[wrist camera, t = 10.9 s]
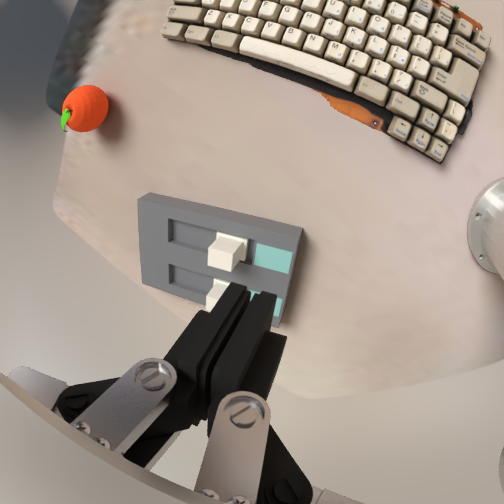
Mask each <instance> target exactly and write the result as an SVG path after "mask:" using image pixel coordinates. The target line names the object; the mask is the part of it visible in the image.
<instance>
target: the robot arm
mask: <svg viewBox="0 0 504 504" xmlns="http://www.w3.org/2000/svg"><path fill="white" fill-rule="evenodd" d="M477 213H478V214H477ZM476 214H477V215H476ZM467 234H468V242H469V246H470V249H471V251H472V253H473V256H474V257H475V259H476V260H477V262H478V263H479V264H480V265H481V266H482V267H483V268H484V269H486V270H488V271H490V272H493V273H496V274H500V276H501V277H502V279H503V281H504V178H502V179H499V180H497V181H495V182H493V183H492V184H490V185H489V186H488V187H487V188H486V189H484V191H483V192H482V193H481V194H480V195H479V197H478V198H477V200H476V202H475V203H474V205H473V208H472V210H471V213H470V217H469V221H468V231H467ZM250 299H251V291H248V290H247V286H245V285H242V284H238V283H235V282H231V283H230V284H229V285H228V287H227V288H226V290H225V291H224V293H223V294H222V296H221V297H220V298H219V300H218V301H217V303H216V304H215V306H214V307H213V309H212V310H211V312H210V313H209V312H206V311H203V310H200V311H198V313H197V314H196V315H195V316H194V318H193V319H192V320H191V322H190V323H189V325H188V326H187V327H186V329H185V330H184V331H183V333H182V334H181V336H180V337H179V338H178V340H177V341H176V342H175V344H174V345H173V346H172V348H171V349H170V351H169V352H168V353H167V355H166V356H165V357H164V359H163V360H162V359H158V358H148V359H144V360H141V361H139V362H137V363H136V364H135V365H134V366H132V367H131V368H130V369H129V370H128V371H127V372H126V373H125V374H124V375H123V376H122V377H119V378H114V379H107V380H102V381H96V382H90V383H84V384H78V385H73V386H68V385H67V384H66V382H64V381H61V380H58V379H56V378H53V377H50V376H48V375H45V374H43V373H40V372H38V371H36V370H33V369H31V368H29V367H24V366H21V367H17V368H15V369H13V370H12V371H11V372H10V373H9V375H8V376H7V377H6V376H5V375H3V374H2V373H0V504H364V503H361V502H358V501H356V500H352V499H350V498H347V497H345V496H342V495H339V494H337V493H335V492H332V491H330V490H327V489H324V490H322V489H319V488H317V487H314V486H312V485H311V484H310V482H309V481H308V479H307V478H306V476H305V475H304V473H303V472H302V471H301V469H300V468H299V466H298V465H297V463H296V462H295V461H294V459H293V458H292V456H291V455H290V453H289V452H288V451H287V449H286V447H285V446H284V444H283V443H282V442H281V440H280V438H279V437H278V435H277V434H276V432H275V431H274V430H273V428H272V426H271V425H270V408H269V406H268V404H267V402H266V400H267V397H268V394H269V392H270V389H271V386H272V383H273V381H274V378H275V375H276V372H277V369H278V366H279V363H280V360H281V357H282V354H283V350H284V347H285V343H286V339H287V336H284V335H280V334H277V333H273V332H270V328H271V323H272V319H273V314H274V310H275V305H276V300H277V295H276V294H273V293H269V292H266V291H261V293H260V294H258V293H255V294H254V296H253V297H252V299H251V301H250ZM207 418H208V429H207V436H208V438H209V441H208V444H207V448H206V451H205V454H204V458H203V461H202V465H201V468H200V471H199V475H198V478H197V481H196V485H195V489H194V491H192V490H190V489H187V488H185V487H183V486H180V485H178V484H176V483H173V482H171V481H169V480H167V479H164V478H162V477H160V476H158V475H156V474H154V473H152V472H150V469H151V468H152V467H153V466H154V465H155V464H156V462H157V461H158V460H159V459H160V458H161V457H162V455H163V454H164V453H165V452H166V450H167V449H168V448H169V447H170V446H171V445H172V443H173V442H174V441H175V440H176V439H177V437H178V436H179V435H180V433H181V431H182V430H185V429H189V428H190V426H191V424H193V425H195V426H198V424H199V422H200V420H201V419H202V420H204V421H206V420H207ZM499 478H500V483H501V487H502V489H503V492H504V448H503V450H502V453H501V456H500V461H499Z"/></svg>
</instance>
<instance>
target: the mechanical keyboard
mask: <svg viewBox="0 0 504 504" xmlns="http://www.w3.org/2000/svg"><path fill="white" fill-rule="evenodd" d="M173 1H174V5H172V6H170V8H169V10H168V12H167V15H166V16H167V17H168V19H169V20H168V22H166V23H165V24H164V25H163V27H162V29H161V32H160V33H161V34H162V35H163V38H170V39H175V40H181V41H187V42H193V43H195V44H197V45H199V46H200V47H202V48H204V49H207V50H209V51H212V52H215V53H218V54H221V55H223V56H226V57H231V58H233V59H235V60H238V61H242V62H246V63H249V65H250V64H251V66H253V67H255V68H257V69H261V70H263V71H266V72H269V73H272V74H274V75H277V76H280V77H283V78H286V79H289V80H291V81H294V82H297V83H300V84H302V85H304V86H307V87H310V88H312V89H314V90H315V91H317V92H320V93H321V94H322V96H324V97H325V98H327V101H329V102H330V104H331V105H330V106H332V107H333V108H334V109H336V110H337V111H339V112H341V113H343V114H345V115H347V116H349V117H351V118H353V119H355V120H358V121H360V122H361V123H363V124H366V125H368V126H369V127H371V128H373V129H377V130H379V131H382V132H383V133H385V134H387V135H389V136H391V137H393V138H394V139H396V140H398V141H400V142H401V143H403V144H405V145H407V146H409V147H411V148H412V149H414V150H416V151H418V152H420V153H422V154H423V155H425V156H427V157H429V158H430V159H432V160H434V161H436V162H437V163H439V164H441V163H442V162H443V160H444V158H445V156H446V154H447V152H448V150H449V148H450V146H451V143H452V142H453V141H454V138H455V136H456V135H457V134H458V133H460V134H461V135H463V133H464V131H465V128H466V125H467V123H468V121H469V119H470V117H471V116H472V107H473V105H472V104H473V101H472V99H471V98H472V95H473V93H474V90H475V87H476V83H477V81H478V77H479V74H480V70H481V68H482V66H483V64H484V61H485V58H486V52H487V50H488V48H489V45H490V42H491V37H490V36H489V35H487V34H486V33H484V32H483V31H482V25H481V24H480V23H478V22H476V21H475V20H474V19H472V18H470V17H468V16H467V15H466V14H464V13H463V12H461V11H460V10H458V9H459V7H457V6H454V7H453V6H451V5H449V4H447V3H446V4H447V5H449V6H450V8H448V7H446V6H445V5H443V4H441V2H444V1H442V0H173ZM444 3H445V2H444ZM476 27H477V28H478V30H476ZM254 58H256V59H254ZM374 122H376V125H375V124H374Z"/></svg>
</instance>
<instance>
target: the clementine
mask: <svg viewBox="0 0 504 504" xmlns="http://www.w3.org/2000/svg"><path fill="white" fill-rule="evenodd" d="M108 108H109V104H108V99H107V97H106V95H105V93H104V92H103V91H102V90H101V89H100V88H98V87H96V86H92V85H84V86H81V87H78V88H76V89H75V90H73V91H72V92H71V93H70V94H69V95H68V97H67V98H66V99H65V102H64V104H63V111H62V113H63V115H62V118H61V127H62V129H63V130H64V126H65V124H67V125H68V126H69V127H70V128H71V129H72V130H74V131H77V132H88V131H91V130H93V129H95V128H97V127H98V126H99V125H100V124H101V123H102V122H103V121H104V119H105V117H106V115H107V113H108ZM64 131H65V130H64ZM65 132H68V131H65Z"/></svg>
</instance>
